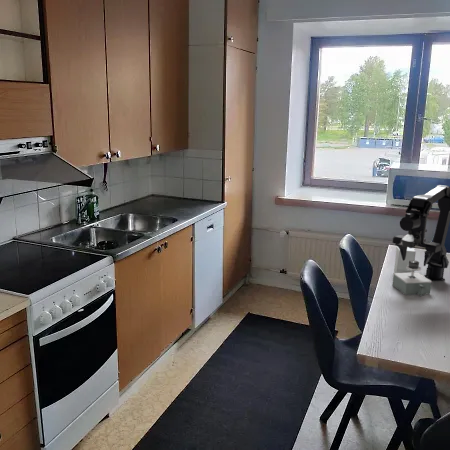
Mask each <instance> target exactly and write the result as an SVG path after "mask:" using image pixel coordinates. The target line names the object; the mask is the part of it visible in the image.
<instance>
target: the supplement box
mask: <svg viewBox="0 0 450 450" xmlns="http://www.w3.org/2000/svg"><path fill="white" fill-rule="evenodd" d="M414 248H415V247H414ZM414 248H409V247H407V252H406V258H405V260H404V261H403V259H402V256H401V252H400V249H399V247H398V246H396V249H395V259H394V265H393V266H394V269H393V274H394V273H411V270H408V269H407V268H406V266H407V265H409V261H410V260H414V261H416V260H415V259H416V253H417V251H416V250H415V249H414Z"/></svg>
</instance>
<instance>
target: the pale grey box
mask: <svg viewBox="0 0 450 450" xmlns="http://www.w3.org/2000/svg"><path fill="white" fill-rule="evenodd" d="M392 277H393V278H392V285H391V286H393V287H394V288H396V290H398V291H400V292H401V293H402V294H403V293H404V295H406V296H410V295H418V296H420V297H423V296H424V295H429V294H431V289H432V282H433V281H432V280H430V279H429V278H427V277H425V276H424V275H422V274H421V273H419V271H414V278H409V277H411V273H394V272H393V275H392Z"/></svg>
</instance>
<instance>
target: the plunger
mask: <svg viewBox="0 0 450 450" xmlns="http://www.w3.org/2000/svg"><path fill="white" fill-rule="evenodd" d="M406 268H407V269H408V270H411V277H409V278H414V272H419V271H421V270H422V269H421V267H420V262H419V261H418V260H415V261H414V260H410V261H409V265H407V266H406Z"/></svg>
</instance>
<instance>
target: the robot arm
mask: <svg viewBox="0 0 450 450" xmlns="http://www.w3.org/2000/svg"><path fill="white" fill-rule="evenodd" d="M436 202H437V207H438V209H439V214H438V217H437V218H438V219H437V223H436V226H435V232H434V235H433V239H432V241H431V242H426V238H425V237H426V233H427V232H428V230H427V220H428V216H430V210H432V208H433V205H434V203H436ZM404 215H405V216H403V217H402V218H401V219H400V221H399V227H400V228H401V229H402V230H403V231H405V232H407V234H405V235H402V234H397V235H394V236H393V238H392V241H391V242H392V243H391V244H394V245H395V246H396V247H397V246H398V247H399V249H400V252H401V256H402V259H403V261H404V260H405V258H406V252H407V247H409V248H415V247H421V248H424V249H425V251H424V259H423V267H426V266H427V267H426V271H425V274H424V275H423V276H424V277H426V278H427V279H429V280H430V281H432V282H433V281H434V282H435V281H445V280H446V278H445V277H444V273H445V269H448V267H449V263H450V261H449V259H448V257H447V249H446V247H445V243H446V238H447V235H448V231H449V226H450V186H449V185H443V184H437V185H436V186H435V188H432V189H431V190H429V191H428V192H426V193H425V194H424V193H423V194H418V195H415V196H413V197H412V198H411V199H410V201H409V203H408V206H407V208H406V210H405V214H404Z"/></svg>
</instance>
